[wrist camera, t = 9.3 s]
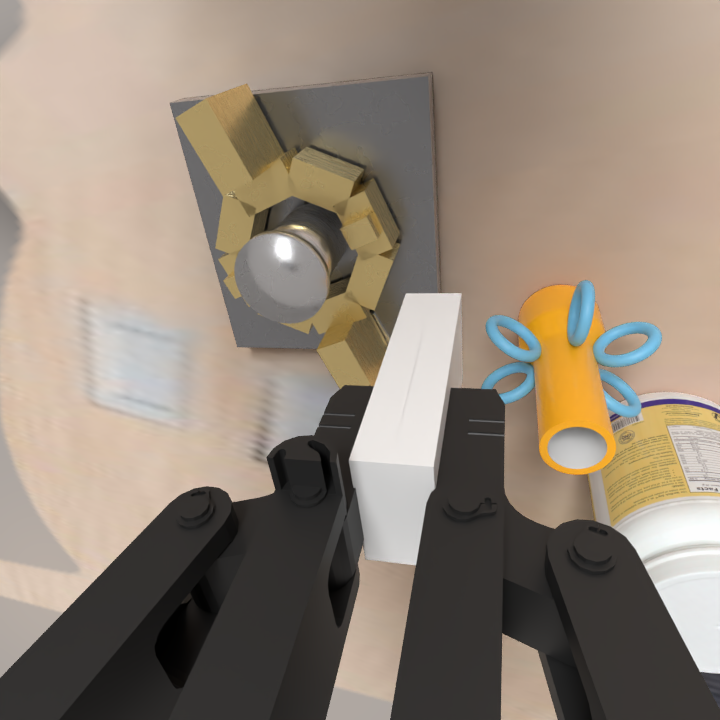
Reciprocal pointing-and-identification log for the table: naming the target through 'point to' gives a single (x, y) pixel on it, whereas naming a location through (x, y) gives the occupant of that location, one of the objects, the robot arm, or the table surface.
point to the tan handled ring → (312, 184)
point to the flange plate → (362, 142)
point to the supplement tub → (670, 508)
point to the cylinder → (569, 373)
